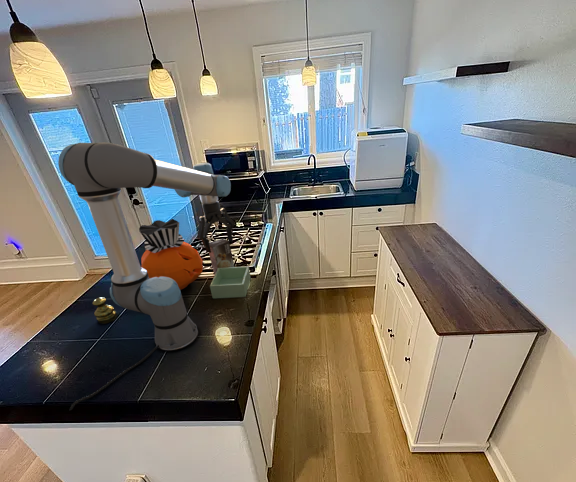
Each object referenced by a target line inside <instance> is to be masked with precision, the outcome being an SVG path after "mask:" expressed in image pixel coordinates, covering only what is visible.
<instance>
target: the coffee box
mask: <svg viewBox="0 0 576 482" xmlns="http://www.w3.org/2000/svg"><path fill="white" fill-rule="evenodd" d="M230 243H231V242H230V241H228V239H225V238H219V239H217V240H214V241H211V242H209V245H210V250H211V253H209V252H208V255H209V259H210V263H211V267H212V271H213V274H214V275H215V274H216V272H217V270H218V268H229V267H236V266H235V262H234V258H233V252H232V248H231V244H230Z"/></svg>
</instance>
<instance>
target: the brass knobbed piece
mask: <svg viewBox="0 0 576 482" xmlns="http://www.w3.org/2000/svg"><path fill="white" fill-rule="evenodd" d="M106 302H107V298H105V297H97V298H96V299H94V300H93V301H92V305H93V306H96V307H97V308H96V309H95V311H94V313H93V314H94V317H95V319H96V320H97V322H98V323H99V324H101V325H106V324H107V325H108V324H110V323H112V322H114V321H115V320H116V319H117V318H118V314H117V311H116V310H115V307H114V306H113V305H110V304H106Z"/></svg>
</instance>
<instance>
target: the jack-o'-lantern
mask: <svg viewBox="0 0 576 482" xmlns="http://www.w3.org/2000/svg"><path fill="white" fill-rule="evenodd" d="M138 232H139V234H140V235H141V236H142V237H143V239H144V240H145V241H144V244H143V245H144V250H145V251H144V252H143V253H142V255H141V260H140V261H141V264H140V265H141V267H142V268H144V269H146V270H147V273H148V276H149V279H150V278H153V277H160V276H163V277H169V278H171V279H173V280H174V281H176V283H177V284H178V287H179V289H180V291H181V290H182V291H183V290H184V289H186V288H187V287H188V285H190V284H193V283H194V282H195V281H196V280H197V279H198V278H199V277H200V276H201V274H202V273H203V270H204V265H203V264H204V263H203V262H204V260H203V258H202V257H201V255H200V253H199V251H198V250H197V249H196V248H194V247H193V246H192V245H191V244H190V243H189V242H186V239H185V238H184V236H183V235H182V234H180V222H179V221H178V220H176V219H174V218H170V219H169V220H168V221H163V220H161V219H156V220H154V221H153V222H152V223H151V224H148V225H147V224H141V225H140V226H139V228H138Z"/></svg>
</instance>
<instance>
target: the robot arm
mask: <svg viewBox="0 0 576 482" xmlns="http://www.w3.org/2000/svg"><path fill="white" fill-rule="evenodd" d="M57 161H58V163H57V164H58V169H59V172H60V174H61V176H62V178H63V179H64V180H65V181H66V182H67V183H69V184H70V185H72V186H74V188H75V191H76V193H77V196H78V198H80V199H82V200H83V201H85V202H86V204H87V206H88V209H89V212H90V214H91V217H92V220H93V222H94V225H95V228H96V230H97V233H98V235H99V237H100V238H99V239H100V240H101V244H102V246H103V249H104V252H105V253H106V257H107V259H108V261H109V264H110V267H111V269H112V272H113V274H112V275H111V277H110V281H111V283H110V287H109V295H110V298H111V300H112V301H113V303H114V304H115V305H117V306H119V307H121V308H122V309H125V310H128V311H133V312H138V313H141V314H143V315H148V316H150V319H151V321H152V324H153V326H154V343H155V345H156V346H155V347H154V348H153V349H152V350H151V351H149V352H148V353H147V354H146V355H145V356H144V357H143V358H141V359H140V360H138V361H137V362H136V363H134V364H133V365H131V366H129V367H128V368H126V369H125V370H123V371H121V372H120V373H119V374H117V375H116V376H115V377H113V378H112V379H111V380H109V381H108V382H107V383H106V384H104V385H103V386H102V387H101V386H100V388H99V389H97V390H95V391H94V392H92V393H91V394H89V395H86V396H84V397H81V398H79V399H77V400H75V401H74V402H73V403H72V404H71V406H70V407H69V410H68V411H73V409H74V408H75V407H76V405H78V404H79V403H81V402H84V401H86V400H89V399H90V398H93V397H95V396H96V395H97V394H99V393H100V392H102V391H103V390H105V389H106V388H107V387H108V386H110V385H112V384H113V383H114V382H115V381H116V380H118V379H120V378H121V377H122V376H124V375H125V374H126V373H128V372H129V371H131V370H133V369H134V368H136V367H137V366H139V365H141V364H142V363H143V362H144V361H145V360H147V359H148V358H150V356H151V355H152V354H153V353H154V352H155V351H156V350H157V349H158V350H160V351H162V352H164V353H165V352H167V353H173V352H178V351H182V350H184V349H187V348H189V347H190V346H191V345H192V344H193V343H195V341H197V339H198V337H199V329H198V326H197V324H196V323H195V322H194V321H193V319H191V317H190V316H189V315H188V312H187V309H186V304H185V303H184V302H185V301H184V298H183V295H182V292H181V290H180V289H179V287H178V284H177V283H176V281H174V280H173V279H171V278H169V277H163V276H160V277H153V278H150V279H149V276H148V273H147V270H146V269H144V268H142V265H141V264H140V260H139V258H138V254H137V251H136V249H135V246H134V242H133V239H132V236H131V233H130V230H129V227H128V224H127V220H126V218H125V215H124V212H123V208H122V206H121V203H120V199H119V195H120V194H121V192H122V189H129V188H141V189H151V188H152V187H157V188H163V189H170V190H174V192H175V193H176V194H177V196H179V197H180V198H189V197H190V196H199V199H200V202H201V207H202V212H203V213H204V215H203V216H198V229H197V235H196V239H197V240H200V241H201V242H202V246H203V247H204V248H205V252H206V253H208V254H209V253H211V250H210V245H209V243H210V242H209V241H210V240H209V238H207V237H208V235H209V232H210V229H211V227H212V226H213V224H216V223H218V222H219V223H221V224H222V225H224V227H226V228H225V232H226V237H227V241H229V243H233V242H234V238H233V228H234V226H235V225H236V224H235V223H234V221H233V219H232V218H231V217H230V214H229V213H228V212H227V208H224V207H221V204H220V201H219V197H220V198H221V197H227V196H228V195H230V193H231V190H232V189H231V188H232V183H231V181H230V180H231V179H229V176H226V175H223V174H222V175H221V174H214V170H213V167H212V164H211V163H209V162H198V163H195V164H193V165H192V168H190V167H185V166H181V165H178V164H173V163H170V162H166V161H163V160H158V159H155V158H154V157H153V155H151V154H149V153H147V152H143V151H141V150H137V149H133V148H130V147H128V146H125V145H121V144H117V143H113V142H107V141H106V142H77V143H72V144H69V145H66V146H65V147H63V149H62V150H61V152H60V154H59V156H58V160H57ZM221 215H222V216H223V217H224V218H223V217H222V216H221Z"/></svg>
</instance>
